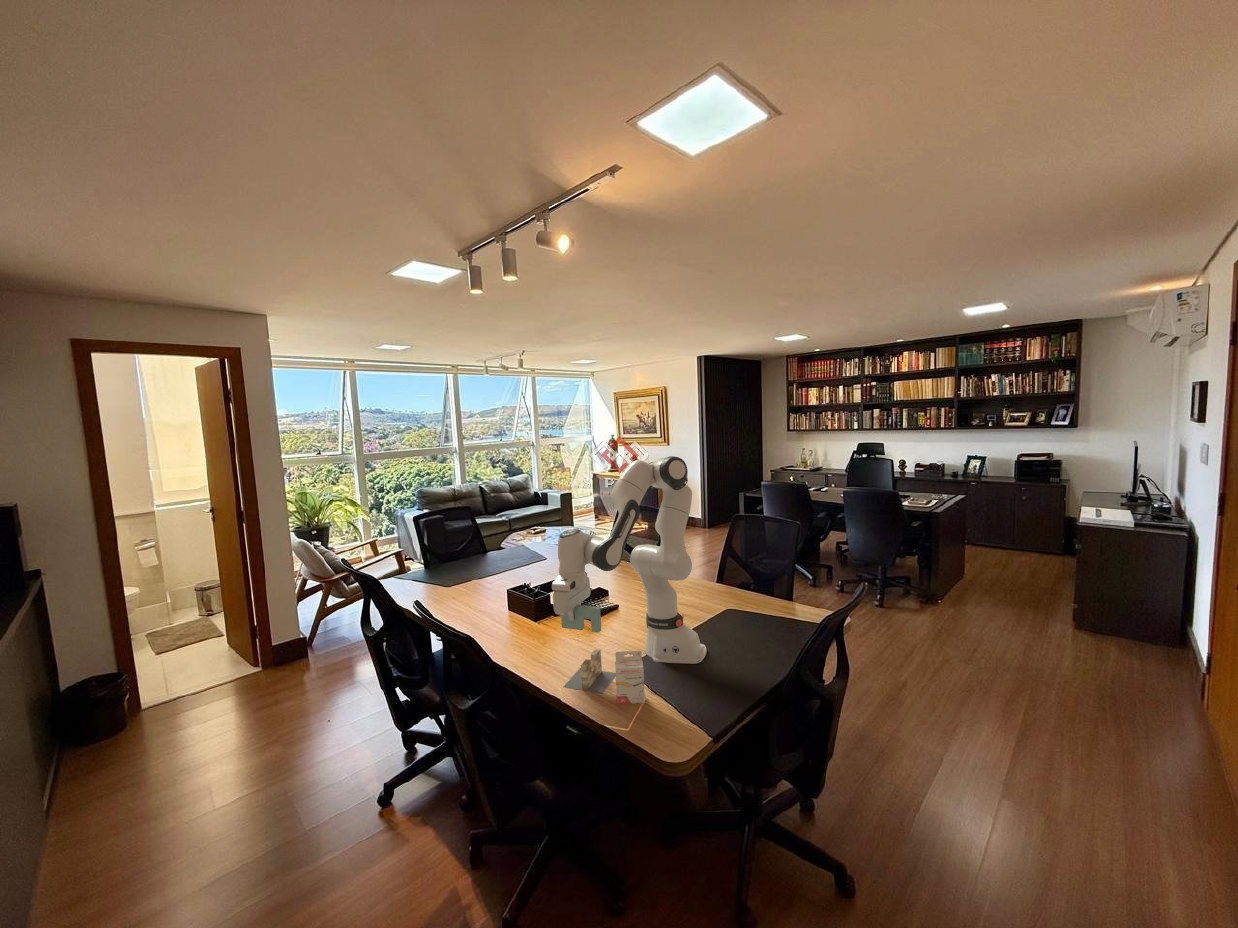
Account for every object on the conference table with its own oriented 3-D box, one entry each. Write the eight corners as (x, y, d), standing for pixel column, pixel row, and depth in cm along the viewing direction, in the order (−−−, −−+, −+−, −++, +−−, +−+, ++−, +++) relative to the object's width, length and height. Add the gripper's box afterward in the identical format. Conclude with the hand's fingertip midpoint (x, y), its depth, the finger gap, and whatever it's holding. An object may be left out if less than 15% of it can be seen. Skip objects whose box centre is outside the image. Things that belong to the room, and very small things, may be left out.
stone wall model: (596, 670, 169) (595, 648, 169) (601, 671, 169) (600, 649, 168) (582, 689, 158) (580, 665, 157) (587, 689, 158) (585, 665, 157)
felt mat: (617, 674, 167) (617, 673, 167) (602, 694, 155) (602, 693, 155) (580, 668, 172) (580, 667, 172) (563, 688, 160) (562, 686, 160)
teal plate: (601, 630, 165) (600, 607, 165) (598, 632, 163) (597, 608, 163) (564, 625, 171) (563, 602, 170) (561, 627, 169) (560, 604, 168)
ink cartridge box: (617, 705, 149) (614, 658, 147) (616, 696, 154) (614, 651, 152) (645, 704, 149) (643, 657, 148) (644, 694, 154) (641, 649, 153)
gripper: (578, 568, 177) (580, 606, 178) (548, 586, 159) (551, 628, 160) (594, 569, 175) (595, 607, 176) (566, 588, 156) (568, 630, 157)
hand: (574, 617), depth 168 cm, fingers closed on teal plate, 2 cm apart
